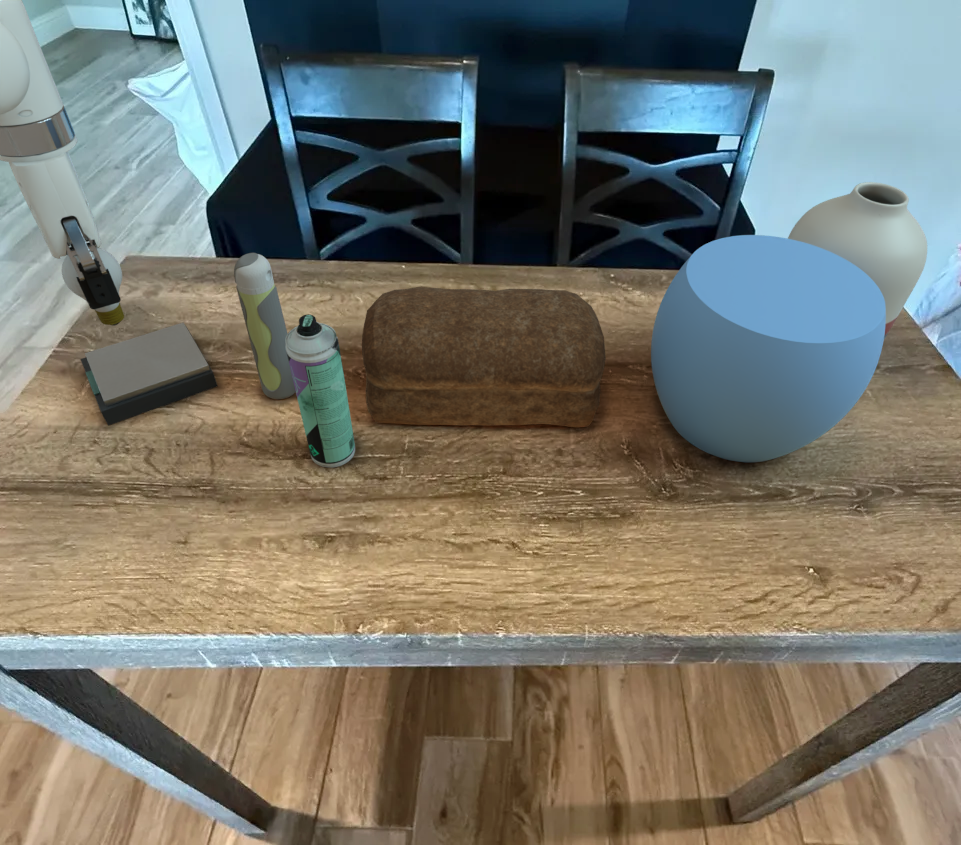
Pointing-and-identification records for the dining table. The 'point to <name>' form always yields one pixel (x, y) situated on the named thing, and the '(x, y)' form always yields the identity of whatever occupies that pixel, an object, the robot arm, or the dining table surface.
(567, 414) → the bread
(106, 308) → the light bulb
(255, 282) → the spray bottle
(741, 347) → the blue rounded pouf
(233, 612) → the dining table surface
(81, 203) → the robot arm
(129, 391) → the scale
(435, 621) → the dining table surface
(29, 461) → the dining table surface
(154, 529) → the dining table surface
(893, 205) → the vase
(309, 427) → the spray can
